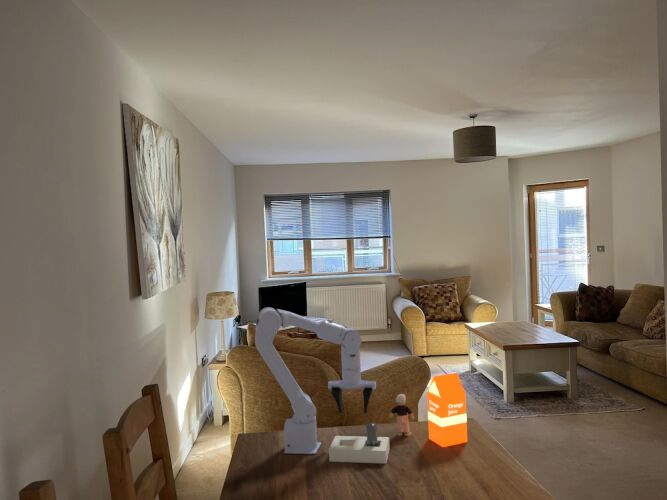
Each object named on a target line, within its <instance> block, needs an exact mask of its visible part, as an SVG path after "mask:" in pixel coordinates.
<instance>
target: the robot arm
mask: <svg viewBox="0 0 667 500" xmlns="http://www.w3.org/2000/svg"><path fill="white" fill-rule="evenodd" d="M290 326H291V327H292V326H293V327H295V328H300V329H303V330H307V331H309V332H313V333H315V334H316V336H317V339H321V340H323V341H327V342H330V343H333V344H336V345H340V347H341V349H340V350H341V353H340V355H341V376H342V377H341V378H342V379H341V380H331V381H330V380H329V381H328V382H327V387H328V388H327V389H328V390H331V395H332V397H333V398H334V400H335V403H336V405H337V408H338V413H339V414H342V413H343V410H344V409H343V389H346V390H347V389H349V390H350V389H351V390H352V389H355V390H357V389H358V390H359V389H361V390H362V389H363V391H362V396H363V413H364V414H367V413H368V407H369V402H370V398H371V396H372V392H373V391H374V390H376V389H377V381H374V380H372V381H371V380H364V379H363V380H362V372H361V371H362V370H361V367H362V365H361V353H360V351H361V350H360V346H361V345H362V341H363V339H362V337H361V334H360V333H359V332H358V330H356V329H354V328H352V327H351V326H348V325H346V324H343V325H341V324H339V323H335V322H334V321H333V319H330V318H328V319H323V320H320V321H316V320H314V319H311V318H307V317H304V316H303V315H299V314H297V313H294V312H291V311H288V310H283V309H280V308H276V309H275V308H273V307H269V306H268V307H267V306H266V307H264V308H262V309H261V310H260V311H259V312H258V315H257V317H256V320H255V337H254V345H255V347H256V350H257V351H258V354H259V355H260V356H261V357H262V359H263V361H264V362H265V364H266V365H267V366H268V369H269V371H271V373H272V375H273V376H274V378H275V380H276V381H277V383H278V384H279V386H280V388H282V389H281V390H283V392H284V393H285V395H286V397H287V399H288V400H289V401H290V405H291V409H292V410H293V412H294V413H293V415H292V417H291V418H287V419H286V420H285V422H284V426H283V436H284V438H283V439H284V451H283V452H284V454H295V455H296V454H298V455H302V454H303V455H315V454H317V452H318V450H319V448H320V447H321V445H322V442H319V441H318V433H317V432H318V431H317V430H318V429H317V408H316V406H315V404H314V403H313V401H312V398H311V397H310V396H309V395H308V394H307V393H305V392H304V391H303V390H302V388H301V387H300V385H299V384H298V383H297V381H296V380H295V378H294V376H293V374H292V373H291V371H290V369H289V368H288V366H287V365H286V363H285V362H284V360H283V359H282V357H281V355H280V354H279V352H278V351H277V350H276V347H275V346H274V344H273V343H274V339H275V337H276V336H275V335H276V334H277V333H278V331H279V330H280V328H282V329H285V328H288V327H290Z"/></svg>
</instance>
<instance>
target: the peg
mask: <svg viewBox="0 0 667 500" xmlns="http://www.w3.org/2000/svg"><path fill="white" fill-rule="evenodd" d="M366 437H367V446H372V447H378V439H377V437H378V424H377V423H376V422H368V423H366Z"/></svg>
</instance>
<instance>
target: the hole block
mask: <svg viewBox="0 0 667 500" xmlns="http://www.w3.org/2000/svg"><path fill="white" fill-rule="evenodd" d="M377 439H378V447H372V446H367V436H355V435H354V436H352V435H335V437H334V438H333V440H332V442H331V444H330V446H329V448H328V457H329V462H334V463H337V462H338V463H362V464H365V463H366V464H387V462H388V458H389V453H390V437H388V436H377Z"/></svg>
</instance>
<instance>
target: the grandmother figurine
mask: <svg viewBox="0 0 667 500" xmlns="http://www.w3.org/2000/svg"><path fill="white" fill-rule="evenodd" d="M406 401H407V397H406V395H405V394H404V393H400V394H398V395H397V396H396V398H395V402H396V403H397V404H398V405H396V406H394V407H393V408H392V409H391V410H390V414H389V417H390V418H393V417H394V415H395V414H396V430H397V436H398V437H400V436H403V435H404V436H405V437H406V436H407V437H409V436H411V435H412V432H411V431H410V422H409V421H410V420H409V416H410V419H411V420H414V419H415V416H414V414H413V411H412V409H410V407H409V406H406V405H405V404H406Z"/></svg>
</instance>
